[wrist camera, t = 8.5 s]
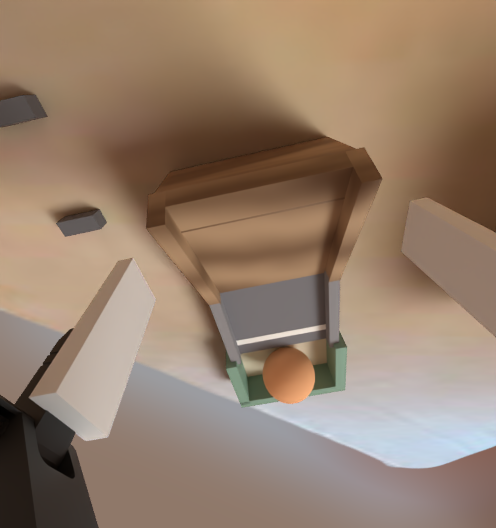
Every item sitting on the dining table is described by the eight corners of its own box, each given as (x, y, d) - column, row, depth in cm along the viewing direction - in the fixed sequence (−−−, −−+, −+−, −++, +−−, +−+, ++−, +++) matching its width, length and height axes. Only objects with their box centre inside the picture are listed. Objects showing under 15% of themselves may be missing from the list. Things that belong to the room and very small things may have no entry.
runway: (209, 281, 25) (207, 300, 23) (329, 257, 25) (339, 274, 22) (232, 344, 31) (232, 365, 28) (330, 326, 30) (338, 346, 28)
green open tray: (226, 342, 30) (225, 368, 28) (335, 322, 30) (346, 347, 27) (240, 381, 35) (242, 407, 32) (335, 365, 35) (345, 389, 32)
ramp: (168, 168, 19) (137, 209, 12) (327, 133, 18) (384, 155, 12) (212, 289, 26) (206, 357, 19) (329, 266, 25) (366, 328, 18)
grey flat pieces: (-9, 105, 16) (-24, 106, 15) (35, 95, 16) (22, 95, 15) (72, 230, 21) (65, 236, 20) (106, 222, 21) (100, 229, 20)
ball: (257, 362, 27) (268, 419, 26) (313, 351, 26) (325, 409, 26) (258, 345, 33) (267, 392, 32) (304, 337, 32) (314, 384, 32)
